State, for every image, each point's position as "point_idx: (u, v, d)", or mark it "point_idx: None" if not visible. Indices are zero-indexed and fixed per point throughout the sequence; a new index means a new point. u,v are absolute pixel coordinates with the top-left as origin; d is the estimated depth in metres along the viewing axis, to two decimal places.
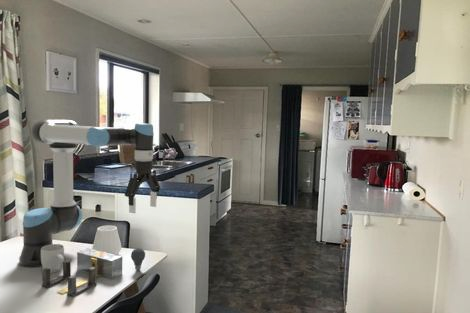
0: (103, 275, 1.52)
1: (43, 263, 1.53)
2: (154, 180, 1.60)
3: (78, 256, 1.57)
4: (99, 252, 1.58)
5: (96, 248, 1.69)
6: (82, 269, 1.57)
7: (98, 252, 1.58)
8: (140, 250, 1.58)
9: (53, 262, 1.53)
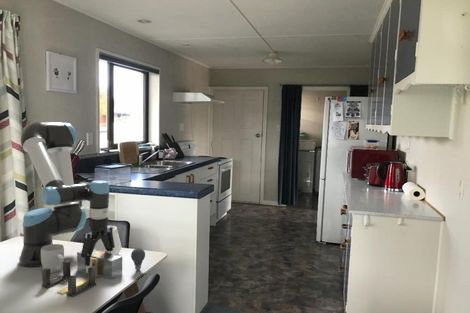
0: (103, 275, 1.52)
1: (43, 263, 1.53)
2: (109, 237, 1.60)
3: (78, 256, 1.57)
4: (99, 252, 1.58)
5: (96, 248, 1.69)
6: (82, 269, 1.57)
7: (98, 252, 1.58)
8: (140, 250, 1.58)
9: (53, 262, 1.53)
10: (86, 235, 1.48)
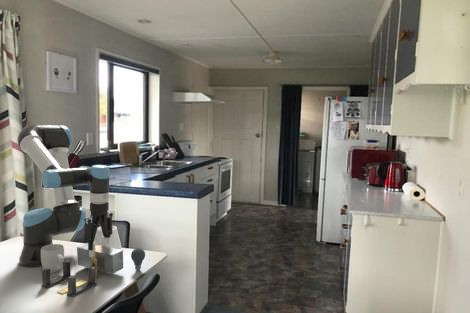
0: (104, 269, 1.52)
1: (43, 263, 1.53)
2: (108, 223, 1.59)
3: (78, 251, 1.57)
4: (99, 246, 1.58)
5: None
6: (83, 264, 1.57)
7: (98, 246, 1.58)
8: (140, 250, 1.58)
9: (53, 262, 1.53)
10: (87, 221, 1.48)
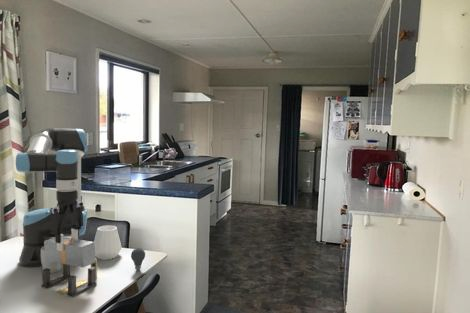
0: (74, 263, 1.38)
1: (43, 263, 1.53)
2: (78, 214, 1.46)
3: (45, 245, 1.43)
4: (69, 239, 1.44)
5: (96, 248, 1.69)
6: (51, 259, 1.43)
7: (68, 239, 1.44)
8: (140, 250, 1.58)
9: (53, 262, 1.53)
10: (52, 210, 1.35)
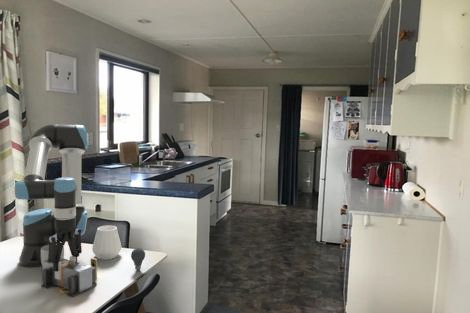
0: None
1: None
2: (77, 241, 1.46)
3: (44, 266, 1.43)
4: (67, 261, 1.44)
5: (96, 248, 1.69)
6: None
7: (66, 261, 1.44)
8: (140, 250, 1.58)
9: None
10: (50, 239, 1.35)
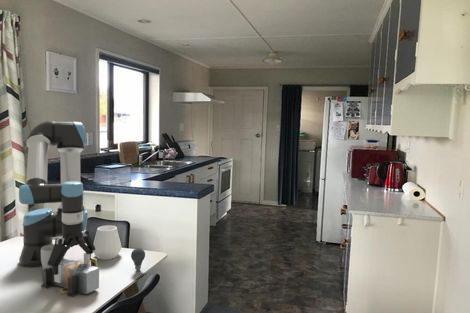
0: (77, 289, 1.36)
1: (43, 263, 1.53)
2: (87, 241, 1.46)
3: (50, 267, 1.42)
4: (74, 263, 1.43)
5: (96, 248, 1.69)
6: (54, 282, 1.41)
7: (72, 263, 1.43)
8: (140, 250, 1.58)
9: None
10: (57, 240, 1.34)
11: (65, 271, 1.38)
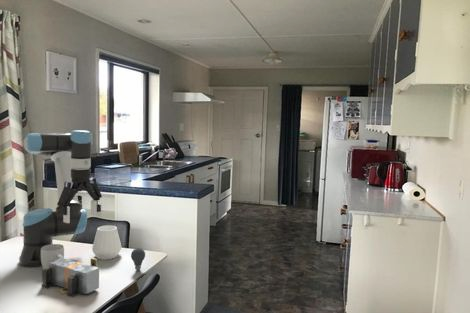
0: (77, 289, 1.36)
1: (43, 263, 1.53)
2: (94, 188, 1.56)
3: (50, 267, 1.42)
4: (74, 263, 1.43)
5: (96, 248, 1.69)
6: (54, 282, 1.41)
7: (72, 263, 1.43)
8: (140, 250, 1.58)
9: None
10: (67, 183, 1.43)
11: (65, 271, 1.38)
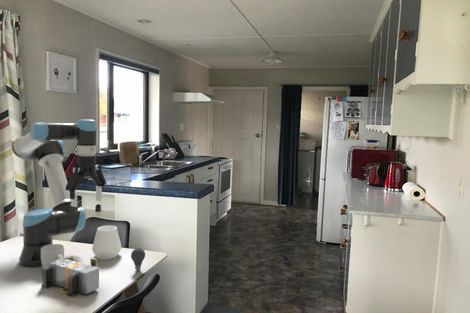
0: (77, 289, 1.36)
1: (43, 263, 1.53)
2: (99, 175, 1.64)
3: (50, 267, 1.42)
4: (74, 263, 1.43)
5: (96, 248, 1.69)
6: (54, 282, 1.41)
7: (72, 263, 1.43)
8: (140, 250, 1.58)
9: None
10: (74, 168, 1.52)
11: (65, 271, 1.38)
